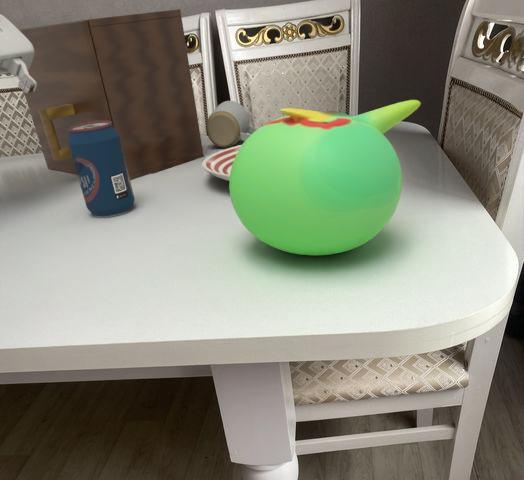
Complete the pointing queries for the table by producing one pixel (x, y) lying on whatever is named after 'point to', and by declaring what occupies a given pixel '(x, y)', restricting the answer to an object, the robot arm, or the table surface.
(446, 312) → the table surface
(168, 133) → the cupboard
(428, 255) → the table surface
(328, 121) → the toy bird
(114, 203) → the soda can
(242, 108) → the ceramic mug
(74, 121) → the cupboard door
